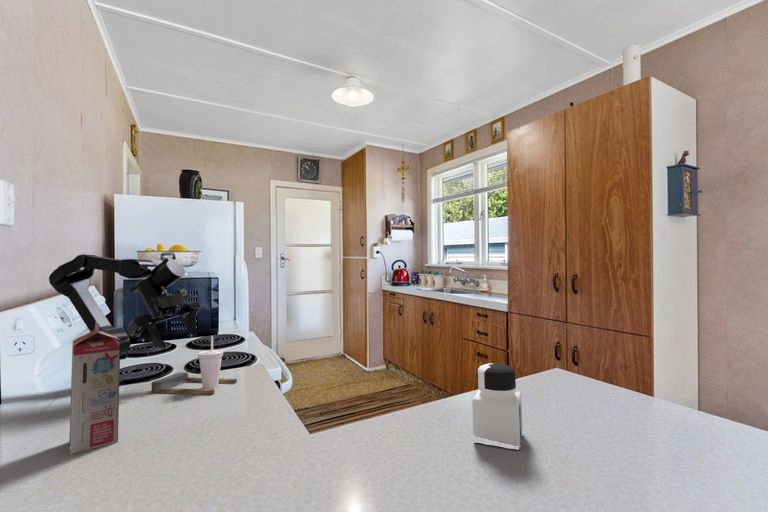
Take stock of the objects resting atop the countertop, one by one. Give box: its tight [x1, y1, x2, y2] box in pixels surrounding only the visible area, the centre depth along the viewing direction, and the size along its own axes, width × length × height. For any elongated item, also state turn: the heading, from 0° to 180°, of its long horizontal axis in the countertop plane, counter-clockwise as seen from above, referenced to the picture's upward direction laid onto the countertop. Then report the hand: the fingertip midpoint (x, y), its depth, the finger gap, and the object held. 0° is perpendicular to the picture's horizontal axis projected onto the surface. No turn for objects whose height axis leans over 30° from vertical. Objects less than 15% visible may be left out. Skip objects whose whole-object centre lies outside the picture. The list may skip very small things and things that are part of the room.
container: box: [471, 362, 524, 447], centre depth 65 cm, size 8×8×13 cm
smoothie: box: [197, 335, 224, 390], centre depth 99 cm, size 6×6×14 cm
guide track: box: [151, 371, 238, 396], centre depth 99 cm, size 18×11×2 cm, turn 80°
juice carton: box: [68, 322, 121, 455], centre depth 67 cm, size 7×7×22 cm
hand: (180, 342), depth 100 cm, fingers open, 9 cm apart
